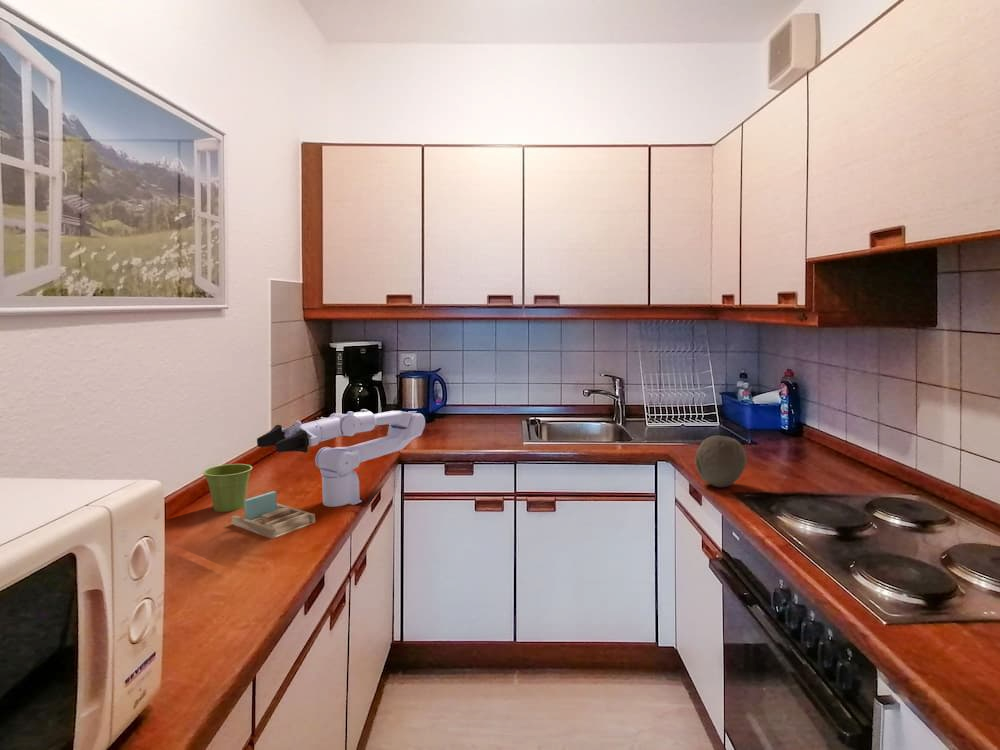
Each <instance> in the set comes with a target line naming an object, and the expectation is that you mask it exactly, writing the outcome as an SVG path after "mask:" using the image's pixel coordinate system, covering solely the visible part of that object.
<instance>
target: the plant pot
mask: <svg viewBox="0 0 1000 750" xmlns="http://www.w3.org/2000/svg"><path fill="white" fill-rule="evenodd" d="M252 470H253V466H252V465H251V464H245V463H230V464H220V465H215V466H212V467H208V468H206V469H205V470H203V471H202V474H203V475H204V476H205V479H206V482H207V484H208V488H209V492H210V493H209V494H210V496H211V501H212V506H213V509H214V511H215V512H220V513H225V512H226V513H228V512H233V511H237V510H242V509H244V508H245V507H244V500H246V499H247V492H248V485H249V479H250V475H251V471H252Z"/></svg>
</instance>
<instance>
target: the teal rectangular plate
mask: <svg viewBox="0 0 1000 750" xmlns="http://www.w3.org/2000/svg"><path fill="white" fill-rule="evenodd" d="M277 503H278V502H277V492H276V491H274V490H273V491H270V492H266V493H263V494H260V495H257V496H253V497H250V498H246V500H244V507H243V508H244V518H245V519H248V520H254V519H257V518H260V517H262V515H264V514H267V513H270V512H273V511H275V510H277Z"/></svg>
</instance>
